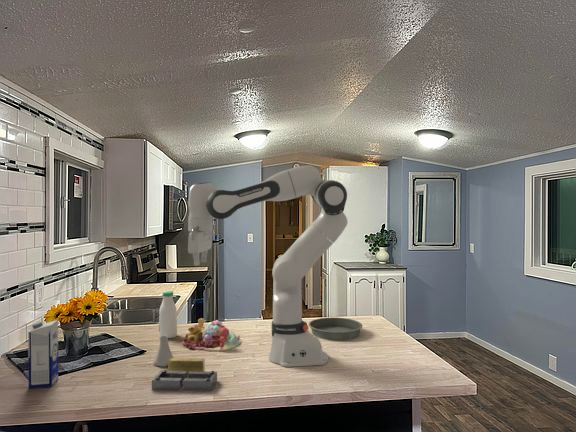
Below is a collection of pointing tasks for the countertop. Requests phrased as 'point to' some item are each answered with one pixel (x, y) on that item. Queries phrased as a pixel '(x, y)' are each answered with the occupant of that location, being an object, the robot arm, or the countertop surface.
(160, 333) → the milk bottle
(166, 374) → the link
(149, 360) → the countertop surface
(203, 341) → the candy landscape model
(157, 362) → the flask
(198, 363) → the tall mustard post
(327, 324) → the cake pan
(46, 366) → the milk carton
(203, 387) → the grey forked link
